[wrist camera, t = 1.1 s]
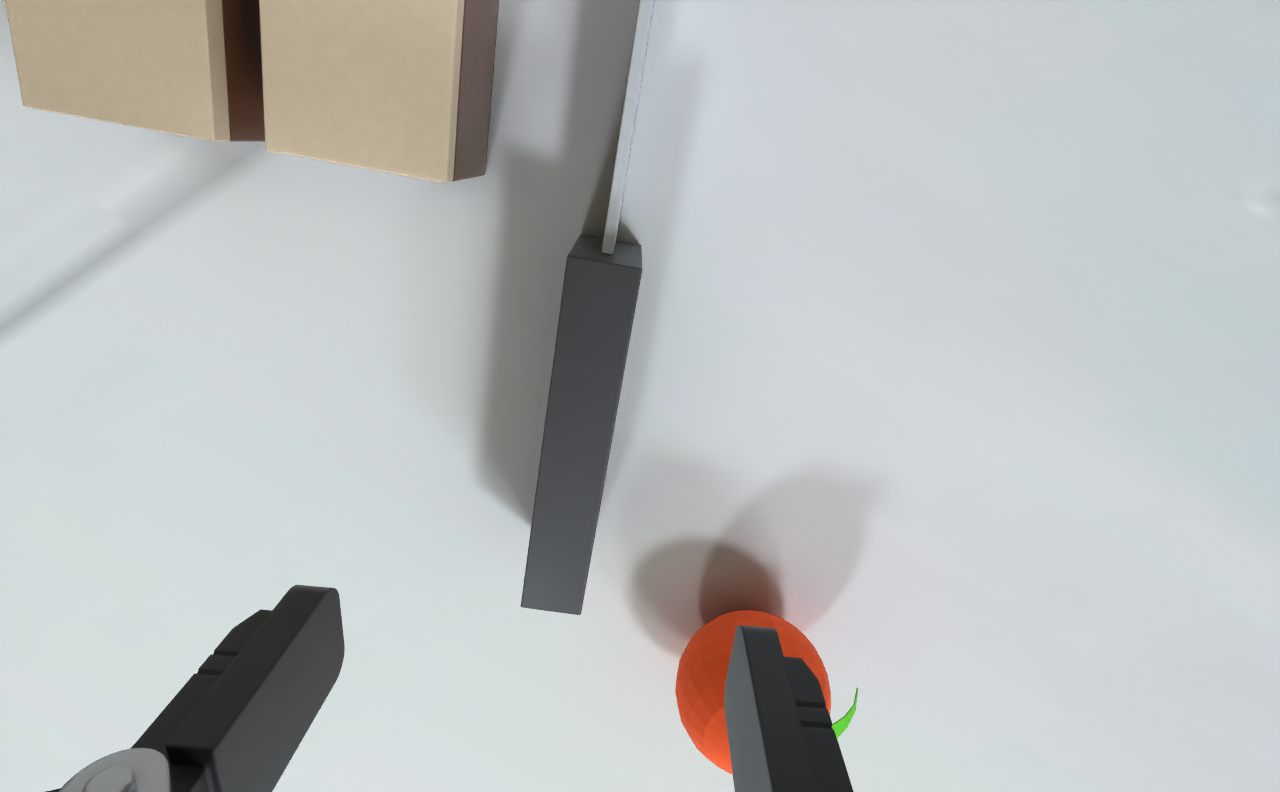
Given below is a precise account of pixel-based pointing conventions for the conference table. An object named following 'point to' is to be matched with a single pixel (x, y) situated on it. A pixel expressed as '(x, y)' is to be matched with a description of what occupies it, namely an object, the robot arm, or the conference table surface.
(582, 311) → the knife
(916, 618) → the conference table surface
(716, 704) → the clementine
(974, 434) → the conference table surface
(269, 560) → the conference table surface
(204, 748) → the robot arm
